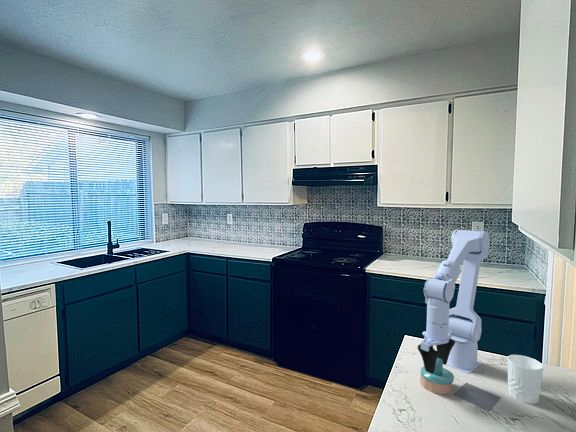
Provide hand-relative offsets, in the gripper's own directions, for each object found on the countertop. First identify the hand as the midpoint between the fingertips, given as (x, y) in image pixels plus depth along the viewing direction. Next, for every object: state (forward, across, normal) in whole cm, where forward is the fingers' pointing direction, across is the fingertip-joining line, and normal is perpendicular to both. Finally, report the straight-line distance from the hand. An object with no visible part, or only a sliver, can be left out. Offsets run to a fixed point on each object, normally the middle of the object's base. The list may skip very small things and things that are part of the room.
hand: (436, 367), depth 92 cm
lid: (+2, 0, 0) cm, 2 cm away
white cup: (+6, -14, +18) cm, 23 cm away
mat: (+6, -4, +10) cm, 12 cm away
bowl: (+6, 0, 0) cm, 6 cm away
